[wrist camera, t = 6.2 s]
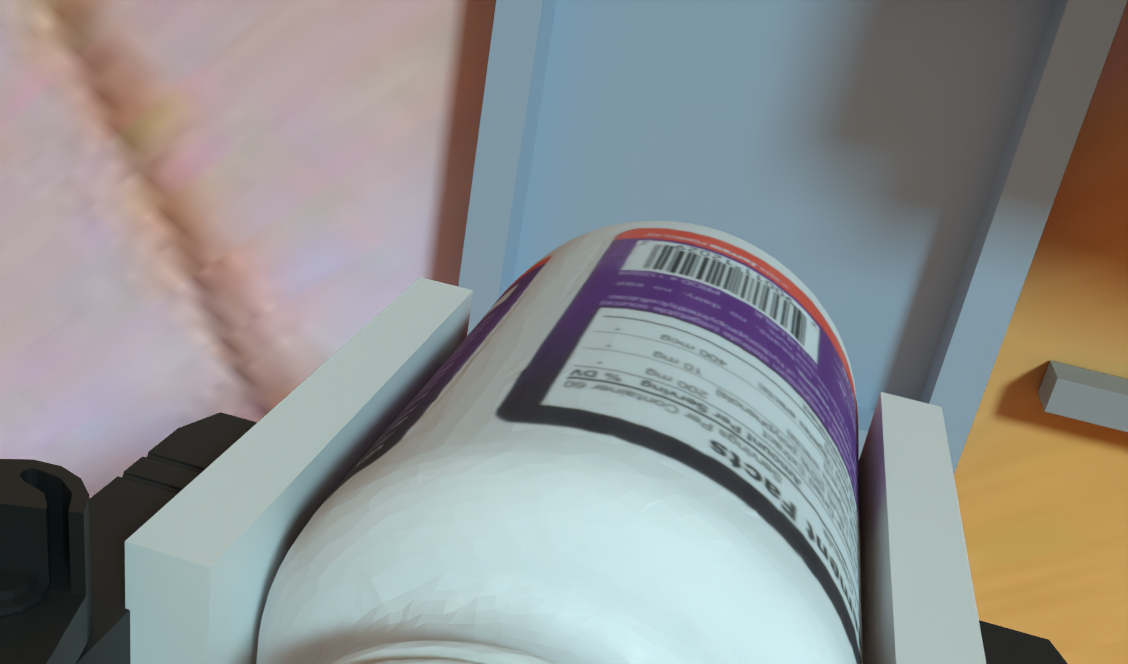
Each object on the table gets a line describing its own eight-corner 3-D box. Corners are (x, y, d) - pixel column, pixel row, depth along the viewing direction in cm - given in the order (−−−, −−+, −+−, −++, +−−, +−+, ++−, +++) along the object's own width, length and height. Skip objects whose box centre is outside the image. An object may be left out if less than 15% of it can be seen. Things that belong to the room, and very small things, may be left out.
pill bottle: (575, 586, 17) (282, 1305, 8) (428, 285, 16) (-101, 770, 7) (915, 504, 15) (993, 1328, 6) (780, 152, 14) (650, 594, 5)
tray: (470, 335, 33) (448, 360, 32) (541, -172, 27) (519, -176, 26) (941, 459, 31) (946, 493, 29) (1130, -67, 25) (1150, -64, 23)
